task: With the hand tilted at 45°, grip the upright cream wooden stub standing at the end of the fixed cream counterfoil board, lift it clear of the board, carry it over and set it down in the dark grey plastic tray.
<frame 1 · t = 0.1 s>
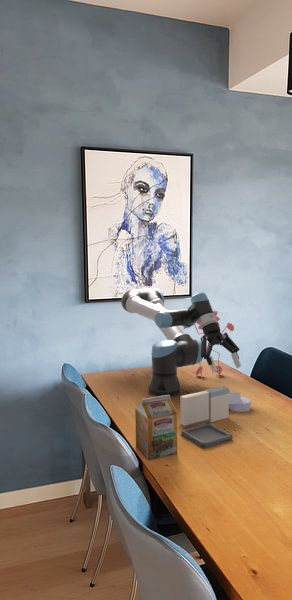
hand: (227, 369, 202), 15 cm above the table, tool tilted 35°, fingers open, 13 cm apart
figurine: (207, 374, 248), on the table
tape dispenser: (234, 408, 200), on the table
counterfoil: (195, 424, 182), on the table
tray: (206, 437, 170), on the table
milk carton: (156, 451, 160), on the table
stub: (216, 418, 188), on the table
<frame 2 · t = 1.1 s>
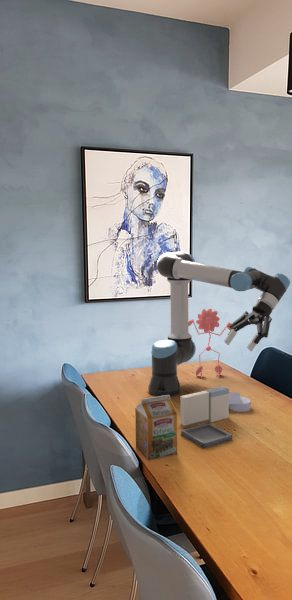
hand: (237, 346, 190), 28 cm above the table, tool tilted 45°, fingers open, 13 cm apart
nothing on the table moved.
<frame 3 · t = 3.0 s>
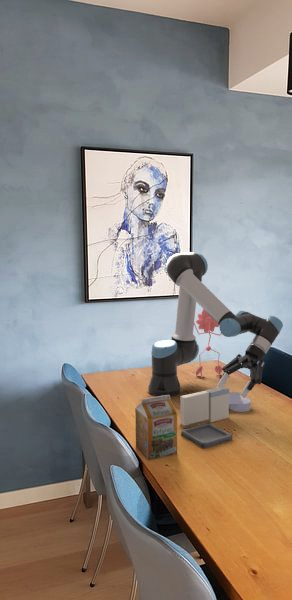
hand: (230, 391, 188), 10 cm above the table, tool tilted 45°, fingers open, 13 cm apart
nothing on the table moved.
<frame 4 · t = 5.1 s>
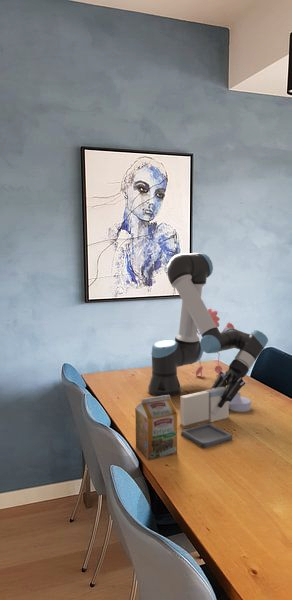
hand: (209, 411, 186), 4 cm above the table, tool tilted 45°, fingers closed on stub, 3 cm apart
stub: (216, 418, 188), on the table, touching gripper
everything else where it was.
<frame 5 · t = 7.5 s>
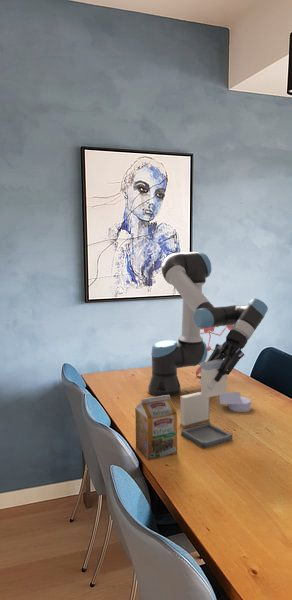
hand: (205, 386, 169), 19 cm above the table, tool tilted 45°, fingers closed on stub, 3 cm apart
stub: (213, 394, 172), point 15 cm above the table, touching gripper
everything else where it was.
when the fingers open (6 cm above the table, at t = 10.0 s): stub drops 1 cm, resting on tray.
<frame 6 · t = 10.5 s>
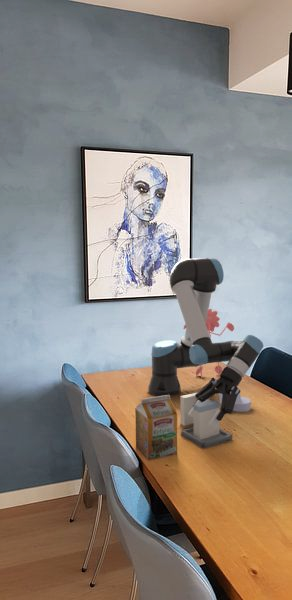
hand: (200, 421, 168), 7 cm above the table, tool tilted 45°, fingers open, 11 cm apart
stub: (206, 435, 170), point 1 cm above the table, touching tray
everything else where it was.
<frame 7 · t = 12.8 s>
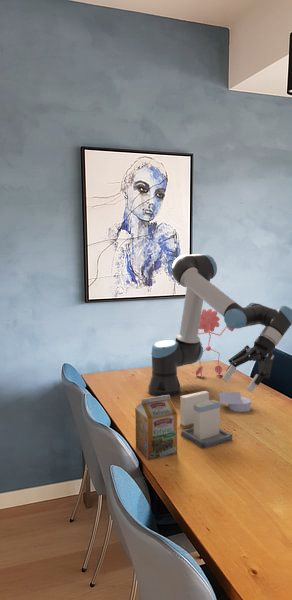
hand: (236, 385, 176), 17 cm above the table, tool tilted 45°, fingers open, 13 cm apart
nothing on the table moved.
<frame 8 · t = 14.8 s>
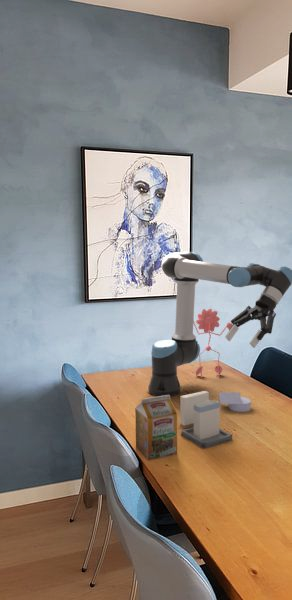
hand: (239, 342, 180), 32 cm above the table, tool tilted 45°, fingers open, 13 cm apart
nothing on the table moved.
at the end: stub inside the target area on the tray (0.1 cm from its centre), point 0.8 cm above the tray's base; stub touching tray; the gripper is holding nothing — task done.
